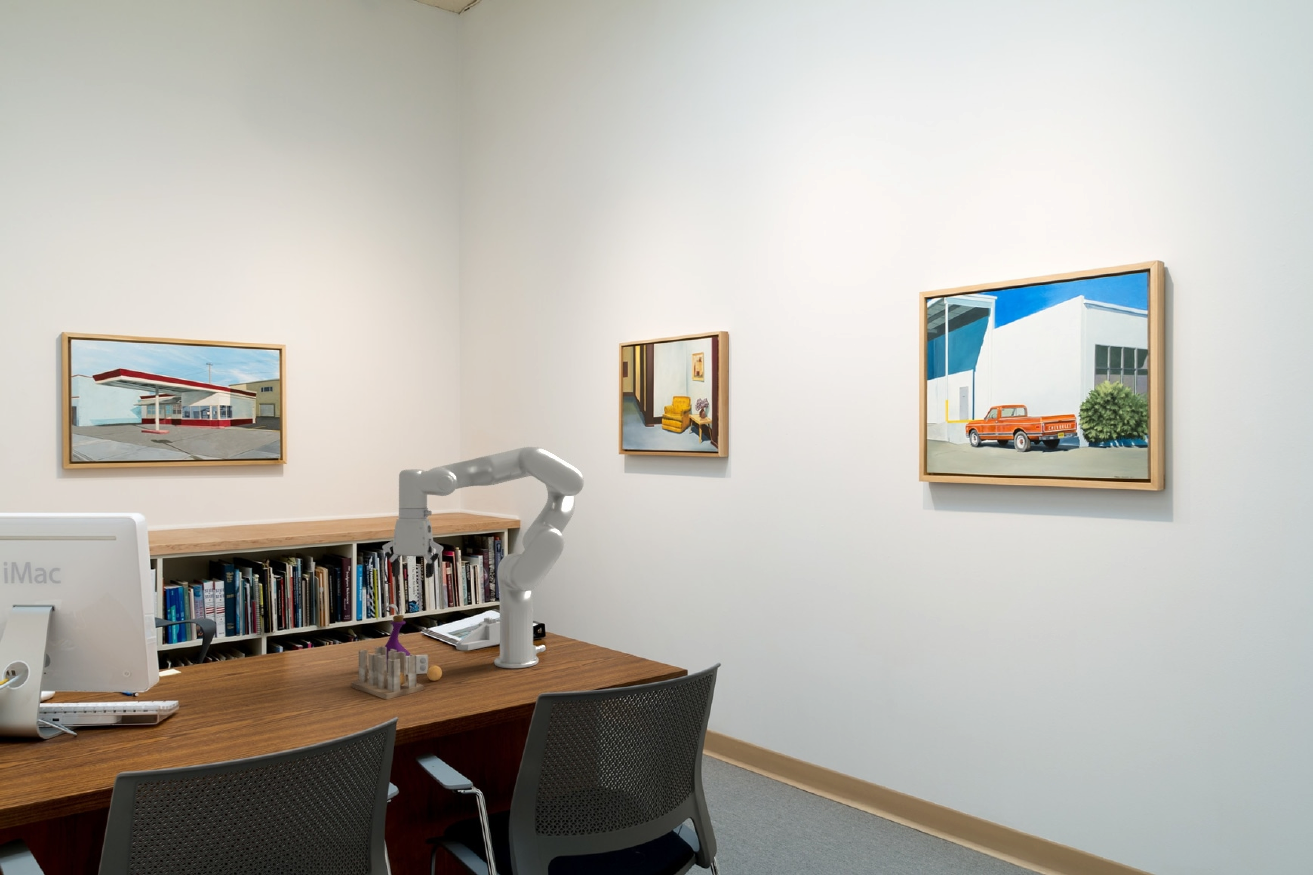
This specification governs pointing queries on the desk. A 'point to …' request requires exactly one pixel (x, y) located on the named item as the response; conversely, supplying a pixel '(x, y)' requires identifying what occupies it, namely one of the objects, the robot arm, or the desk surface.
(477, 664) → the desk surface
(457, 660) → the desk surface
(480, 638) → the sloped support bracket
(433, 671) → the orange ball
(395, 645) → the purple potion bottle
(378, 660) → the ball rack
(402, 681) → the seated orange ball
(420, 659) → the card
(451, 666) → the desk surface
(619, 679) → the desk surface
